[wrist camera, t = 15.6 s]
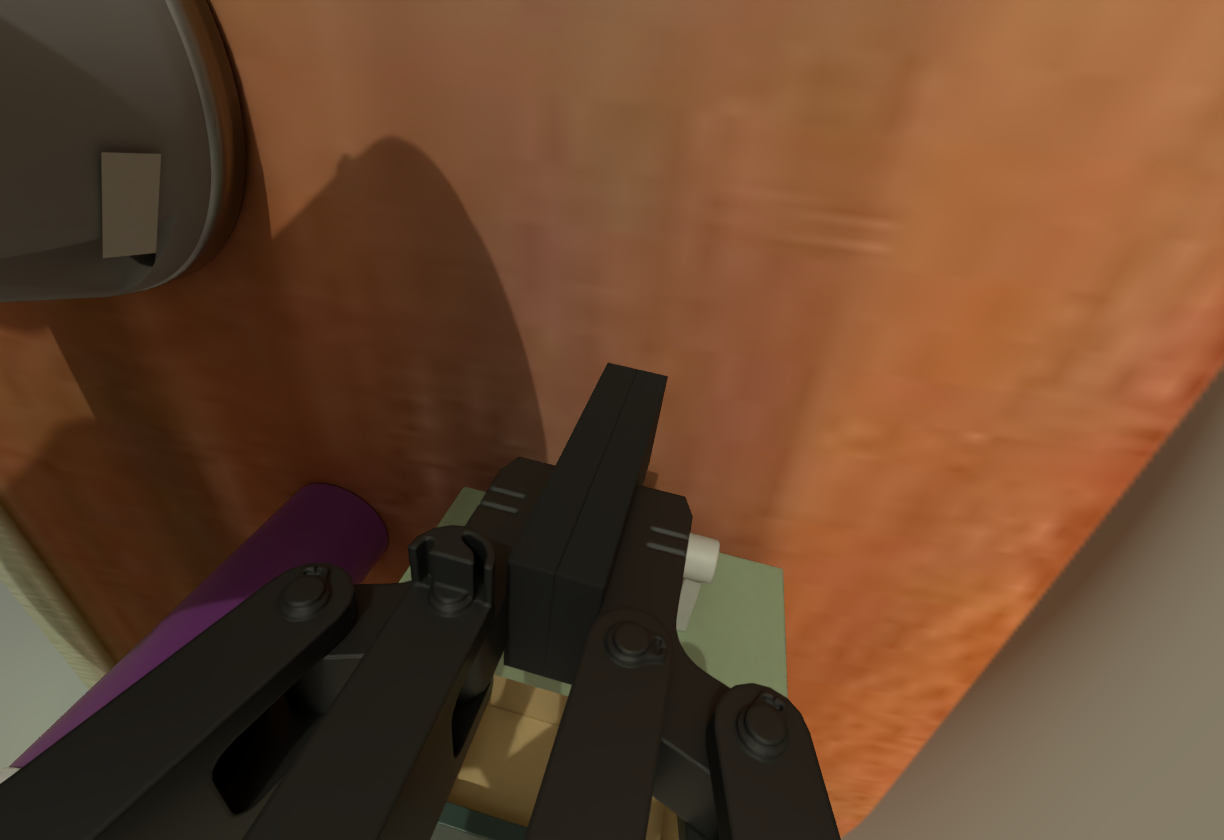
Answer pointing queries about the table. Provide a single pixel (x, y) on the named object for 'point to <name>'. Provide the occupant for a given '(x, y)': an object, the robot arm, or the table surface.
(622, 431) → the robot arm
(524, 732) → the drawer
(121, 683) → the snack tube
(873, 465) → the table surface
